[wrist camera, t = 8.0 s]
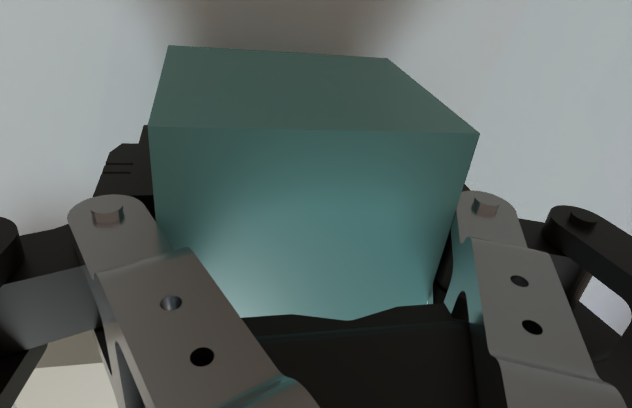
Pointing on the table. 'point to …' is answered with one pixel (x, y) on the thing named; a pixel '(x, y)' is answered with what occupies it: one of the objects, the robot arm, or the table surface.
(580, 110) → the table surface
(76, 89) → the table surface
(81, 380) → the board
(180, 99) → the frosted teal cube
